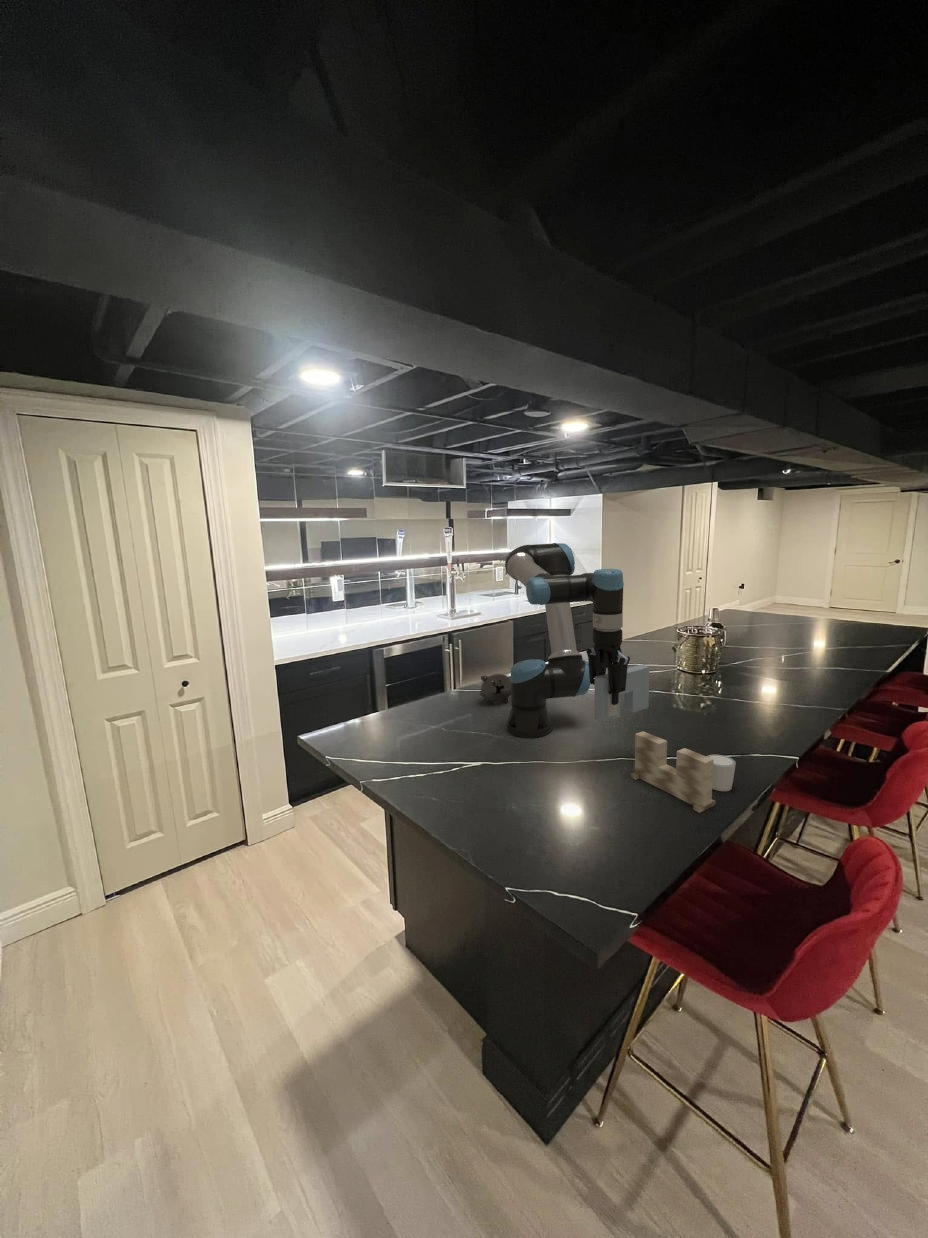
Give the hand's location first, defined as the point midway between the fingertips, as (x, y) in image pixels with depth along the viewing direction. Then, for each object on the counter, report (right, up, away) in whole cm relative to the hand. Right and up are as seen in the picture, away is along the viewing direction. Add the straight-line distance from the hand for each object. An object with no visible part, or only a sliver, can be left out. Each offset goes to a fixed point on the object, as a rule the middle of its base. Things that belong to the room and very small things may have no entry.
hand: (606, 712), depth 130 cm
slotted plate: (+5, -1, +3) cm, 6 cm away
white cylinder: (+26, -17, -8) cm, 33 cm away
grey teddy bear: (-26, -8, +60) cm, 66 cm away
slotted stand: (+14, -18, -9) cm, 24 cm away
